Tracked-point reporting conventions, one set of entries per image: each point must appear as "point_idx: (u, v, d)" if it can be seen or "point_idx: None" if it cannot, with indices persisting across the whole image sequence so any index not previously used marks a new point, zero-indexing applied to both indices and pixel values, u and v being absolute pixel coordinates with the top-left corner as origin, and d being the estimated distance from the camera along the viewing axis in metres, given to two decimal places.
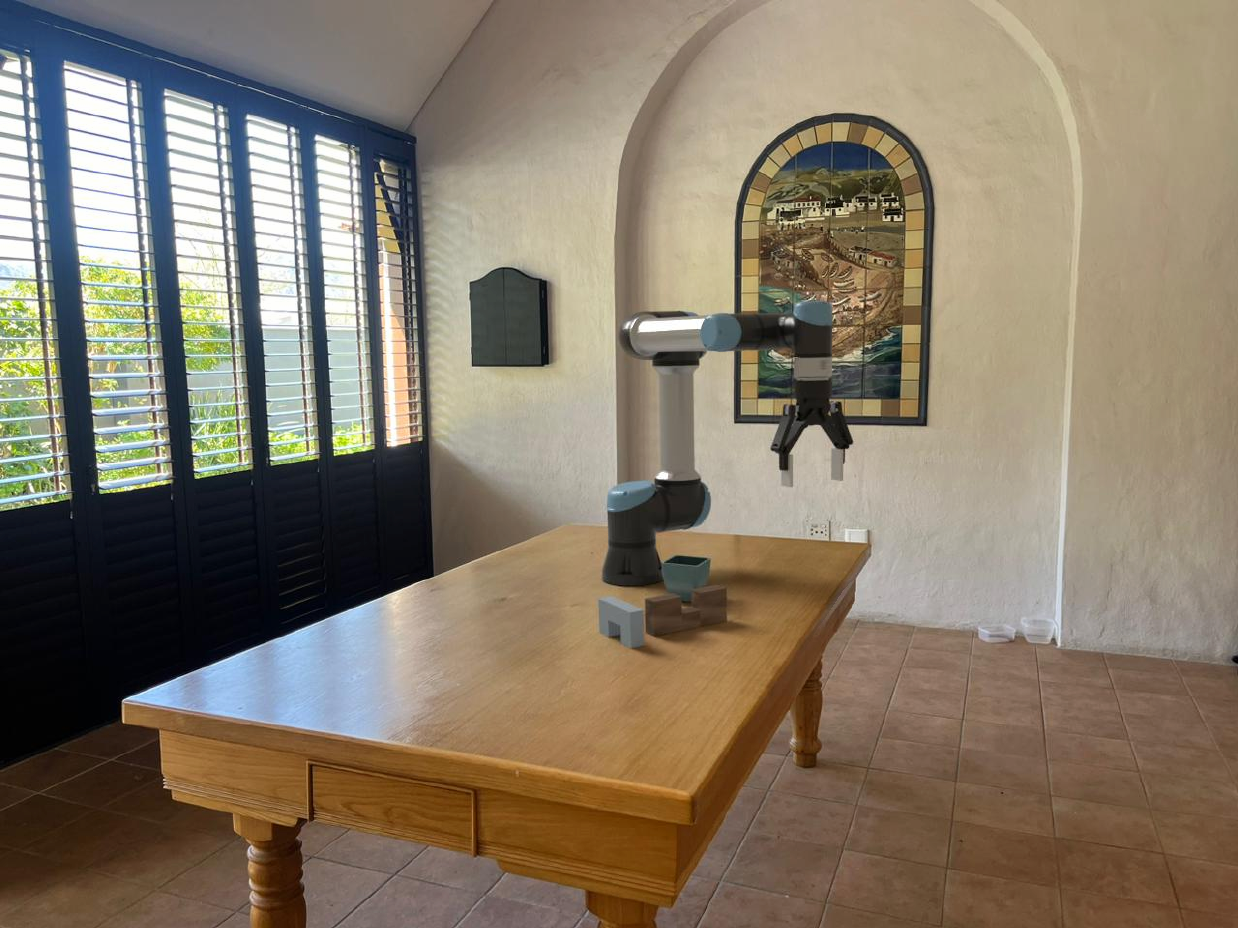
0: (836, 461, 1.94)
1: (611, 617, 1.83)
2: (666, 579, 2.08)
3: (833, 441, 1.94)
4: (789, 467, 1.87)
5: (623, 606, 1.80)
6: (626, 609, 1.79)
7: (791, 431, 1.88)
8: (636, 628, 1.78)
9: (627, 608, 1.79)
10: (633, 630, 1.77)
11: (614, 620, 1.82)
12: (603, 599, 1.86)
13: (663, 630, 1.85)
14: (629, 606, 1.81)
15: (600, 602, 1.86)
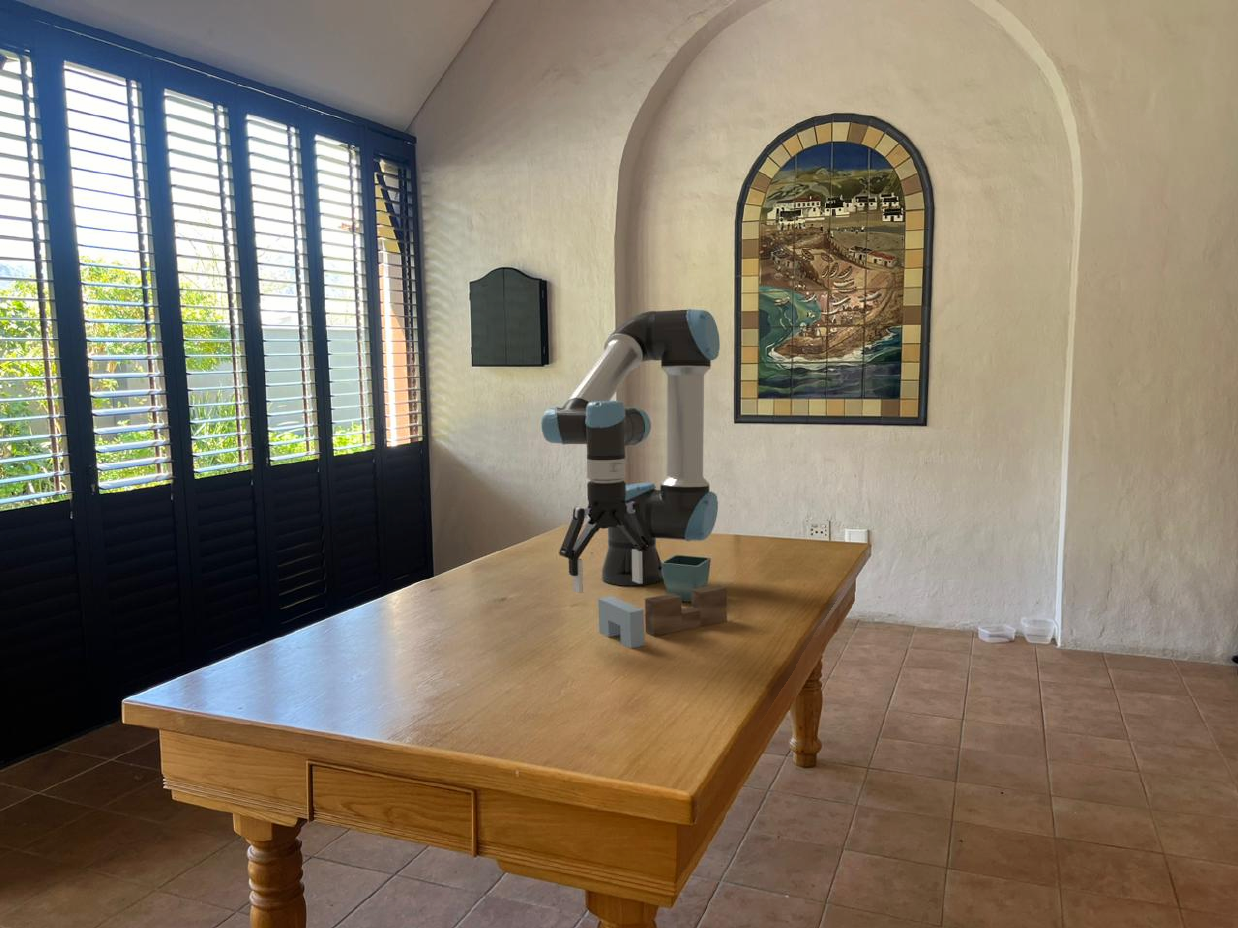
0: (636, 563, 1.88)
1: (611, 617, 1.83)
2: (666, 579, 2.08)
3: (632, 542, 1.88)
4: (578, 572, 1.80)
5: (623, 606, 1.80)
6: (626, 609, 1.79)
7: (582, 534, 1.82)
8: (636, 628, 1.78)
9: (627, 608, 1.79)
10: (633, 630, 1.77)
11: (614, 620, 1.82)
12: (603, 599, 1.86)
13: (663, 630, 1.85)
14: (629, 606, 1.81)
15: (600, 602, 1.86)
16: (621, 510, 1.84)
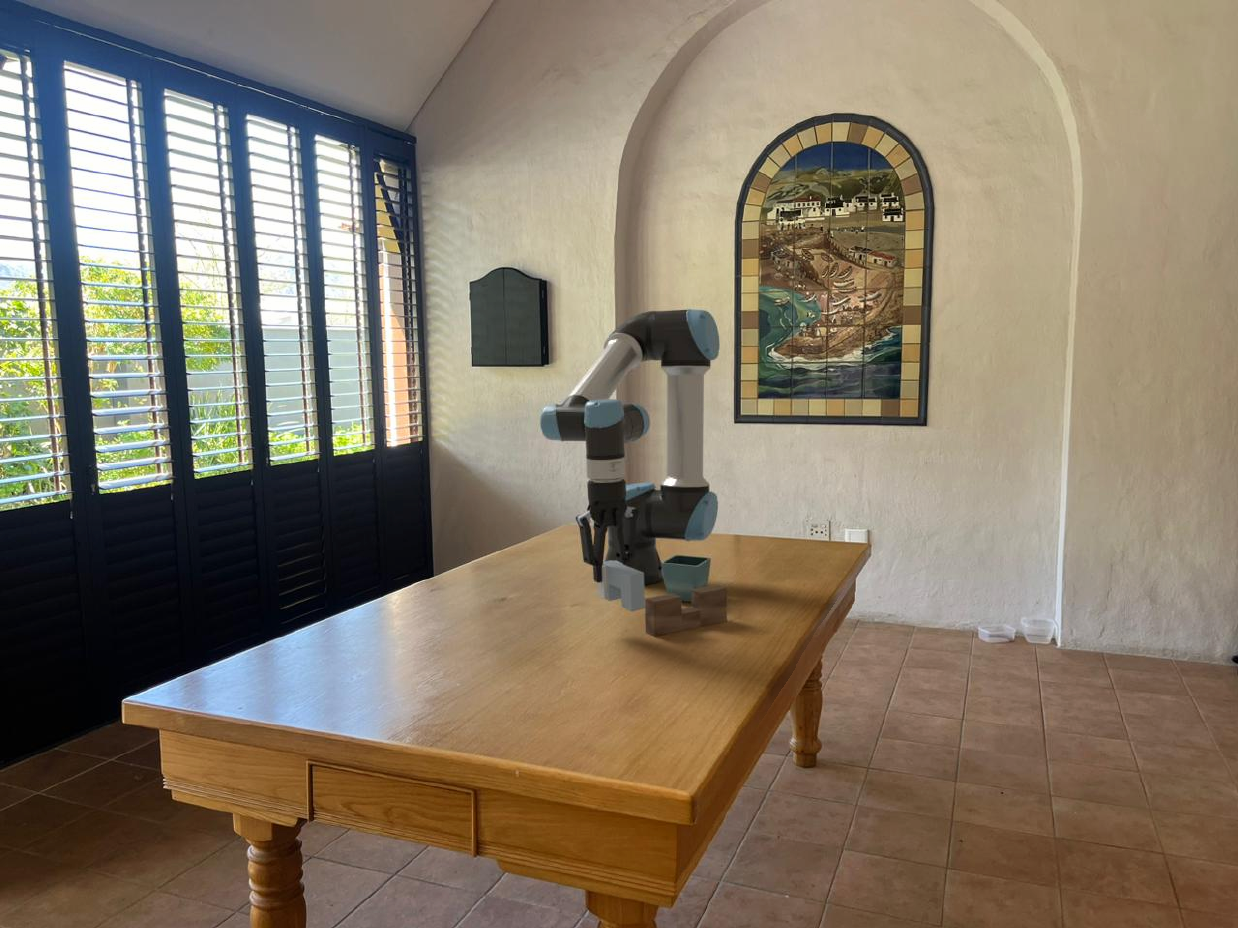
0: None
1: (611, 581, 1.82)
2: (666, 579, 2.08)
3: (616, 550, 1.87)
4: (603, 579, 1.84)
5: (623, 570, 1.80)
6: (626, 572, 1.78)
7: (595, 540, 1.84)
8: (637, 591, 1.77)
9: (627, 571, 1.79)
10: (634, 593, 1.77)
11: (615, 583, 1.81)
12: (603, 563, 1.86)
13: (663, 630, 1.85)
14: (629, 569, 1.80)
15: None
16: (621, 507, 1.84)
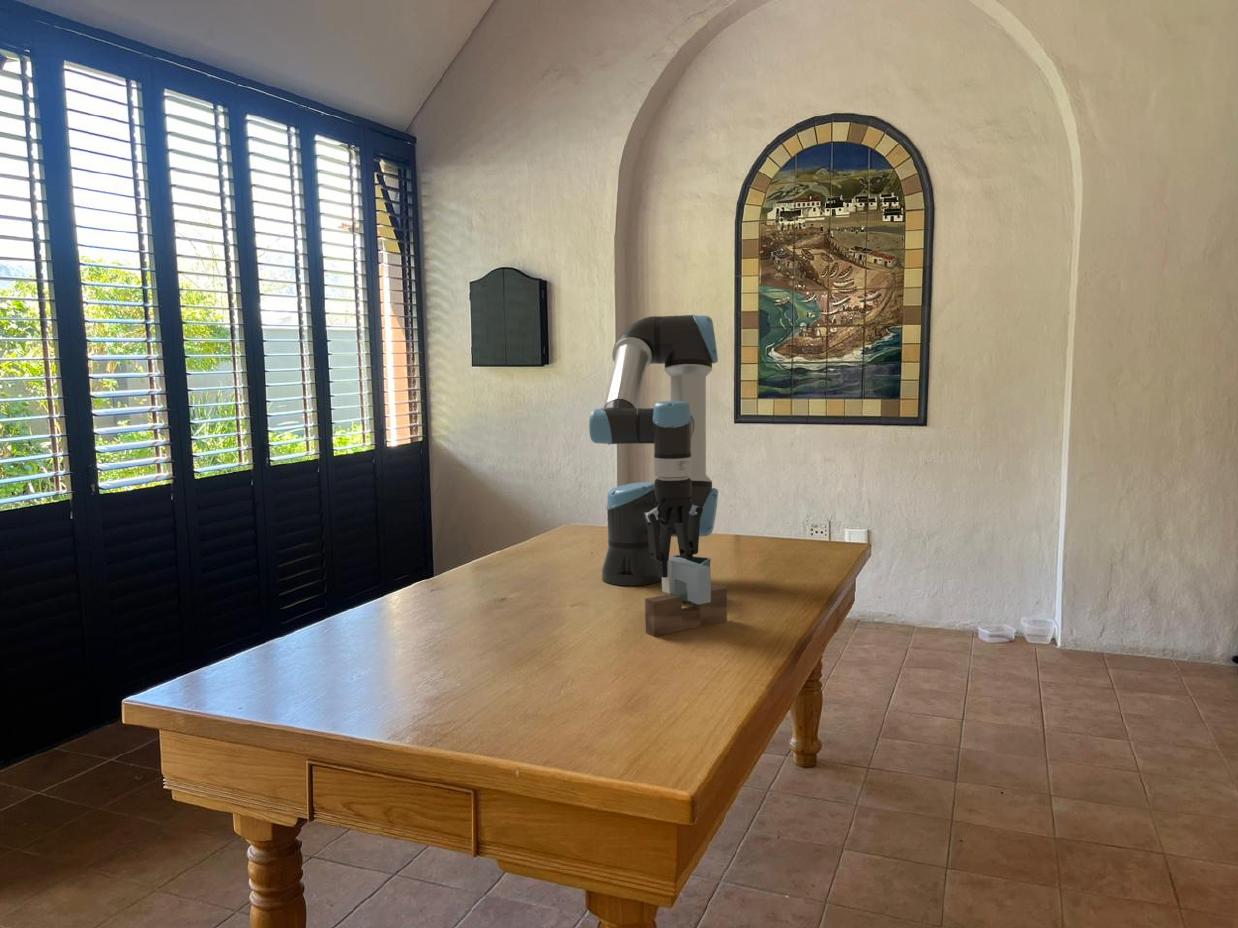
0: None
1: (677, 576, 1.89)
2: None
3: (680, 547, 1.93)
4: (668, 574, 1.90)
5: (690, 564, 1.86)
6: (693, 567, 1.84)
7: (661, 536, 1.90)
8: (704, 585, 1.84)
9: (694, 566, 1.85)
10: (701, 587, 1.83)
11: (681, 578, 1.88)
12: None
13: (663, 630, 1.85)
14: (695, 564, 1.86)
15: None
16: (686, 505, 1.91)
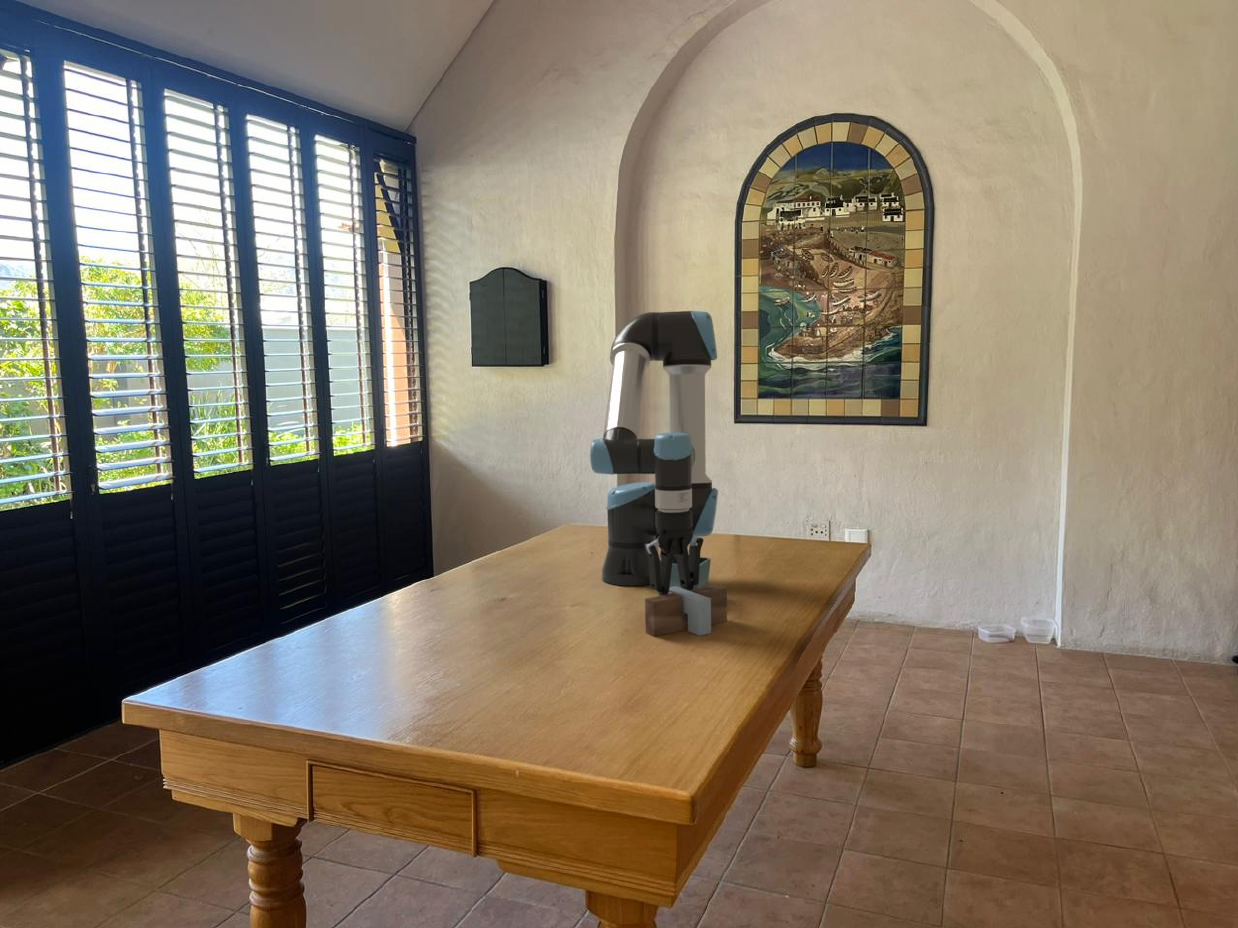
0: None
1: None
2: None
3: (681, 578, 1.94)
4: None
5: (690, 595, 1.87)
6: (694, 598, 1.85)
7: (662, 567, 1.91)
8: (704, 616, 1.84)
9: (695, 597, 1.86)
10: (701, 618, 1.84)
11: None
12: (669, 588, 1.93)
13: (663, 630, 1.85)
14: (696, 595, 1.87)
15: None
16: (687, 536, 1.92)
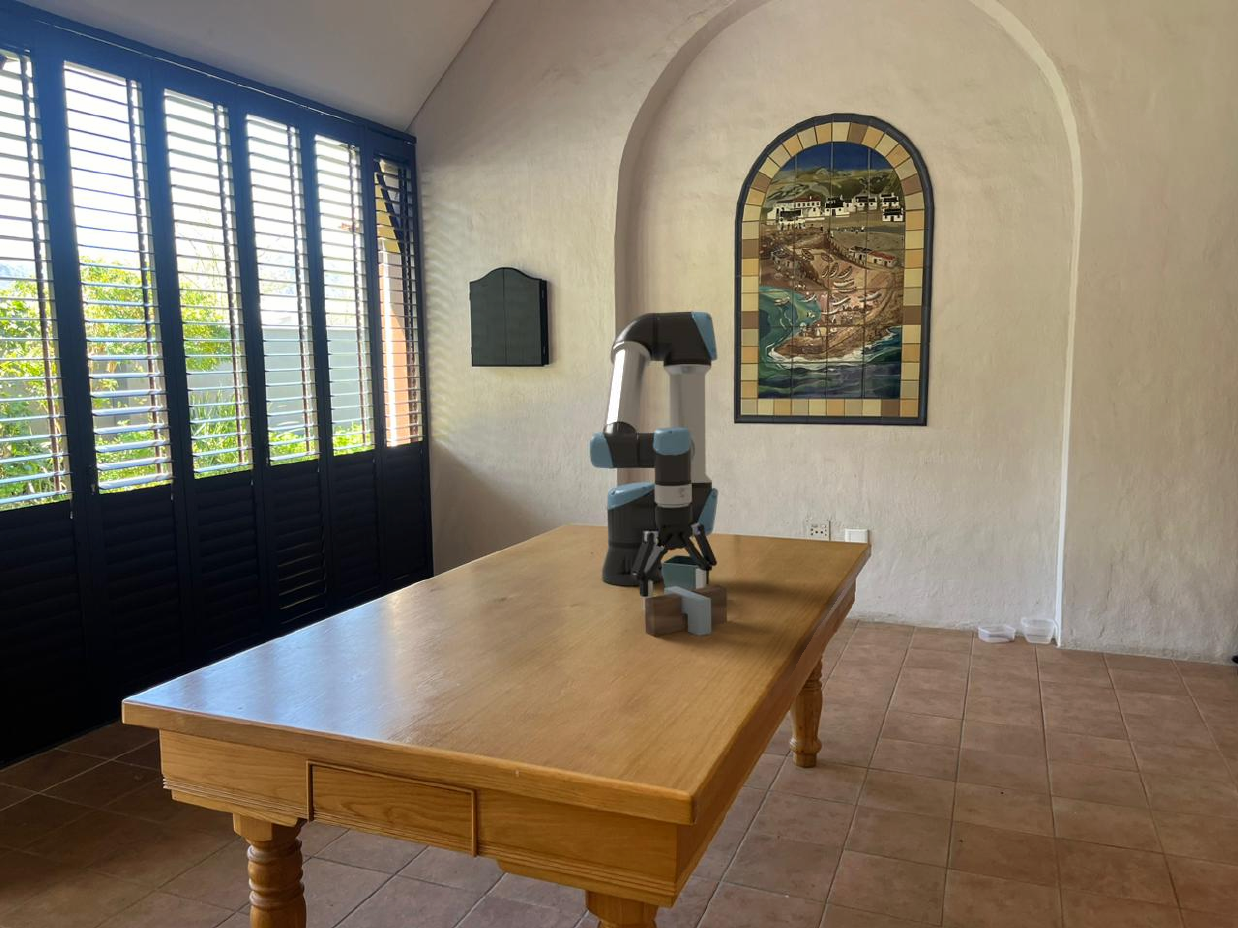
0: (700, 582, 1.96)
1: None
2: (666, 579, 2.08)
3: (697, 562, 1.96)
4: (649, 593, 1.89)
5: (690, 595, 1.87)
6: (694, 598, 1.85)
7: (651, 557, 1.90)
8: (704, 616, 1.84)
9: (695, 597, 1.86)
10: (701, 619, 1.84)
11: None
12: (669, 588, 1.93)
13: (663, 630, 1.85)
14: (696, 595, 1.87)
15: (666, 591, 1.93)
16: (687, 532, 1.92)
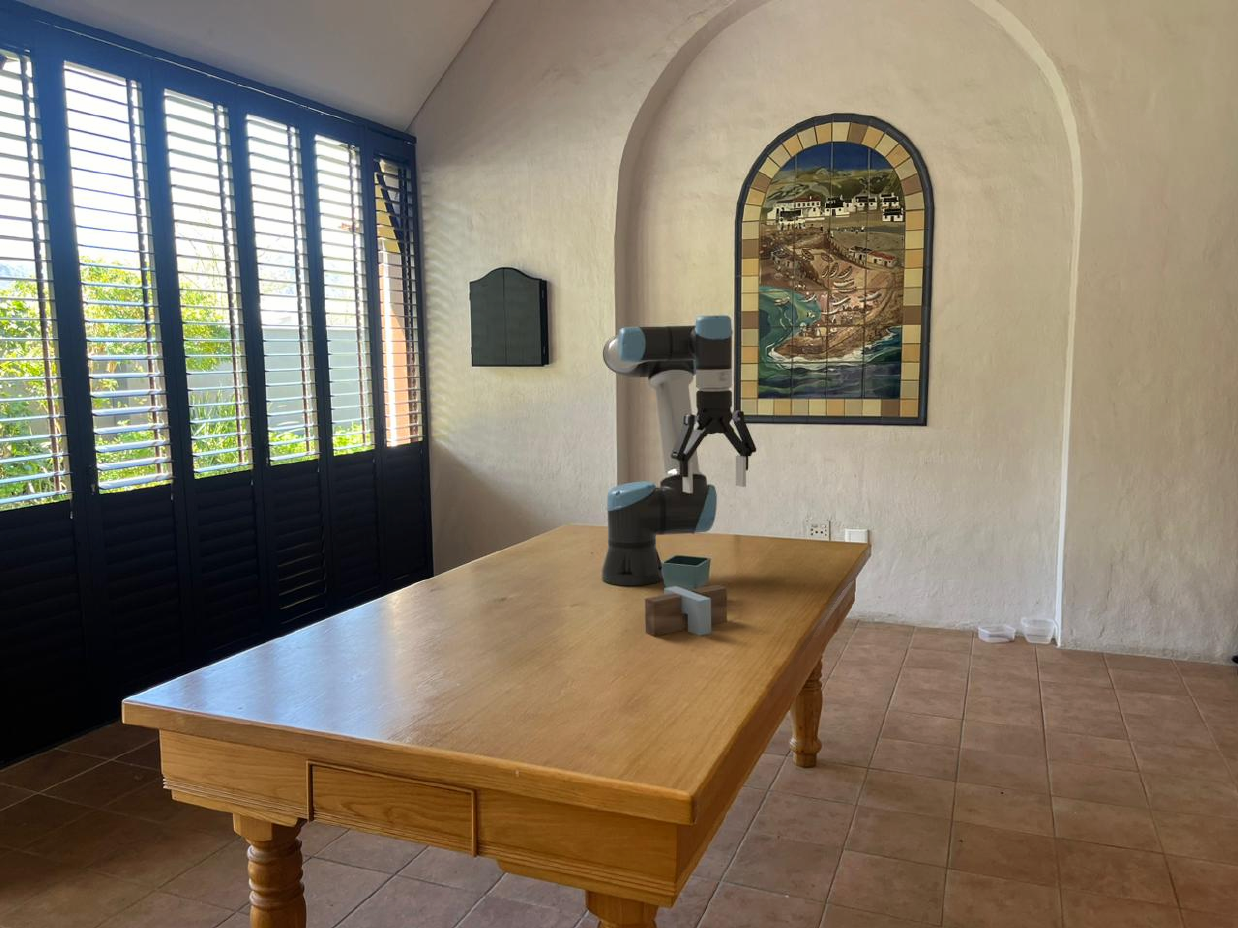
0: (739, 468, 2.03)
1: None
2: (666, 579, 2.08)
3: (737, 449, 2.02)
4: (688, 474, 1.95)
5: (690, 595, 1.87)
6: (694, 598, 1.85)
7: (692, 439, 1.97)
8: (704, 616, 1.84)
9: (695, 597, 1.86)
10: (701, 619, 1.84)
11: None
12: (669, 588, 1.93)
13: (663, 630, 1.85)
14: (696, 595, 1.87)
15: (666, 591, 1.93)
16: (727, 418, 1.98)
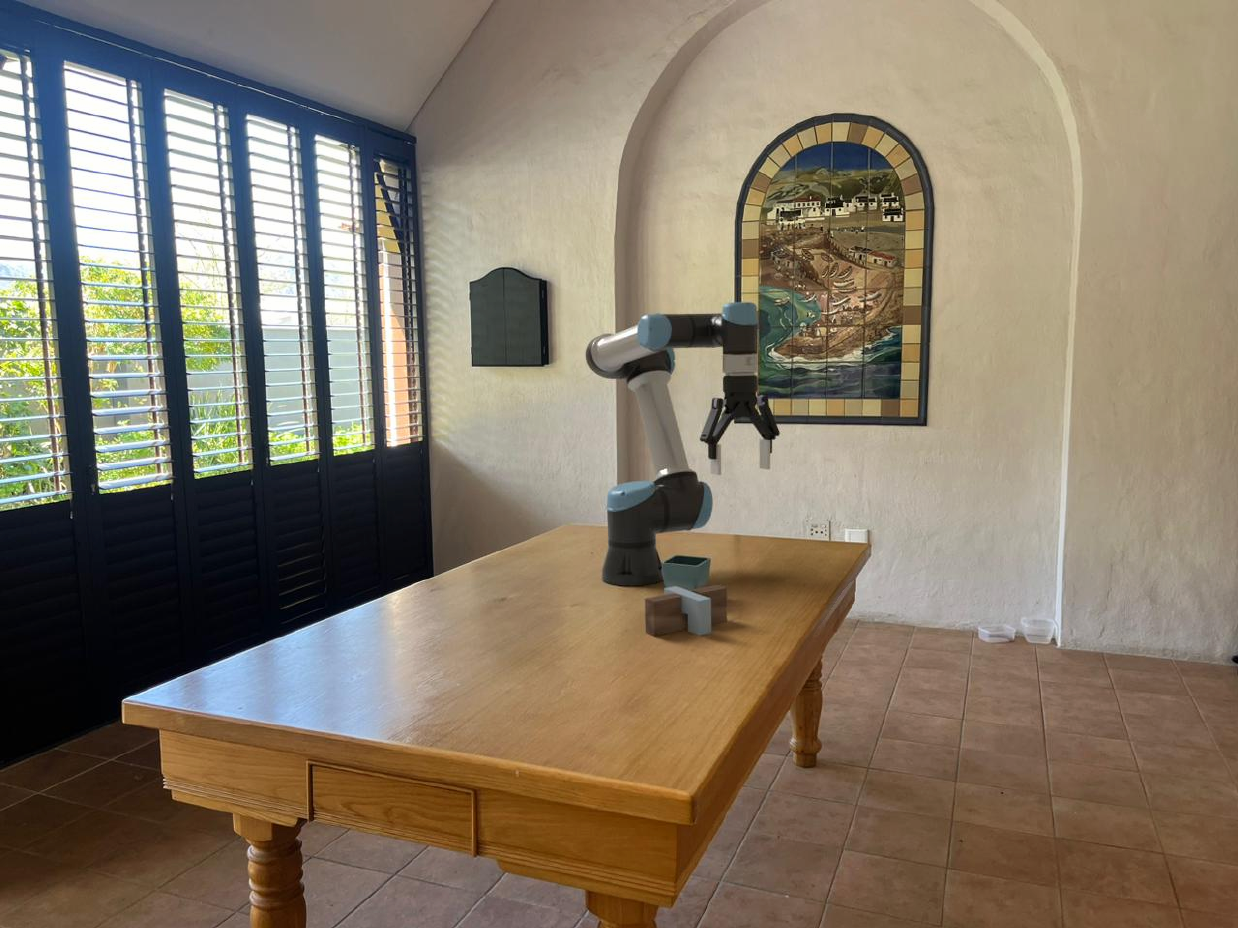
0: (763, 451, 2.09)
1: None
2: (666, 579, 2.08)
3: (761, 432, 2.09)
4: (717, 456, 2.01)
5: (690, 595, 1.87)
6: (694, 598, 1.85)
7: (719, 423, 2.02)
8: (704, 616, 1.84)
9: (695, 597, 1.86)
10: (701, 619, 1.84)
11: None
12: (669, 588, 1.93)
13: (663, 630, 1.85)
14: (696, 595, 1.87)
15: (666, 591, 1.93)
16: (753, 402, 2.05)
